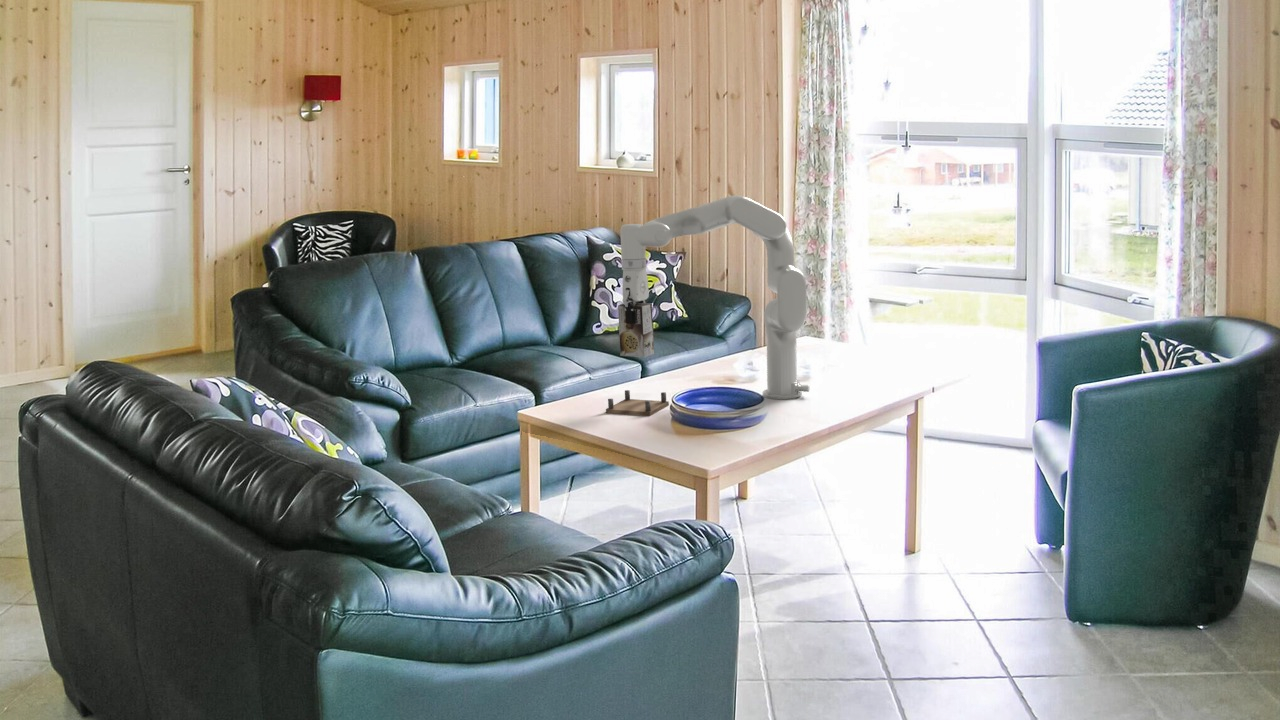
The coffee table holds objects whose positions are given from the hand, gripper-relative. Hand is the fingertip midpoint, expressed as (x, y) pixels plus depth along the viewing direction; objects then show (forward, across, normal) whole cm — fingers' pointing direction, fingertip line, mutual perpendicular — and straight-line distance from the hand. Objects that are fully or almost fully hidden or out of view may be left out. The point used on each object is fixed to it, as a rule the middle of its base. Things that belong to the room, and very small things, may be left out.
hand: (635, 321), depth 375 cm
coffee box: (+11, 0, 0) cm, 11 cm away
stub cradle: (+28, -1, 0) cm, 28 cm away
